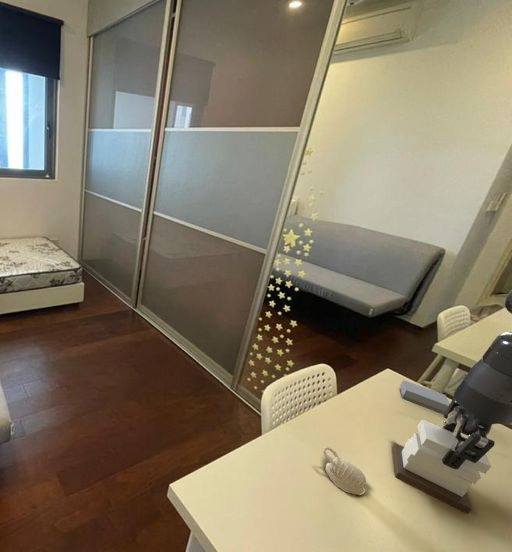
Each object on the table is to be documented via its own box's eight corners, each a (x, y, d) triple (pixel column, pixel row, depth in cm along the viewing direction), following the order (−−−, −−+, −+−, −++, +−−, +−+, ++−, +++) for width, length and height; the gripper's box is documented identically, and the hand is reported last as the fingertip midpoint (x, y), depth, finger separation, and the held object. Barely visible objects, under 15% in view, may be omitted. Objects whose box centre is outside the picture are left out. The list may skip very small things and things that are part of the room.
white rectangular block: (476, 451, 63) (482, 444, 62) (485, 474, 58) (491, 467, 57) (417, 426, 67) (421, 419, 66) (421, 445, 63) (426, 438, 62)
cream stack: (457, 478, 67) (477, 453, 64) (467, 514, 60) (491, 489, 57) (391, 447, 73) (407, 423, 70) (395, 476, 66) (412, 452, 63)
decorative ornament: (358, 502, 60) (370, 484, 58) (312, 467, 66) (322, 449, 64) (365, 490, 62) (377, 473, 60) (320, 457, 68) (330, 440, 66)
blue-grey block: (440, 407, 86) (448, 396, 85) (444, 419, 82) (452, 408, 81) (396, 389, 91) (403, 379, 89) (398, 400, 87) (405, 389, 85)
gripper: (544, 426, 49) (481, 494, 56) (511, 378, 60) (462, 440, 67) (476, 401, 53) (426, 468, 60) (457, 360, 64) (416, 420, 71)
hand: (445, 453), depth 63 cm, fingers closed on white rectangular block, 6 cm apart
